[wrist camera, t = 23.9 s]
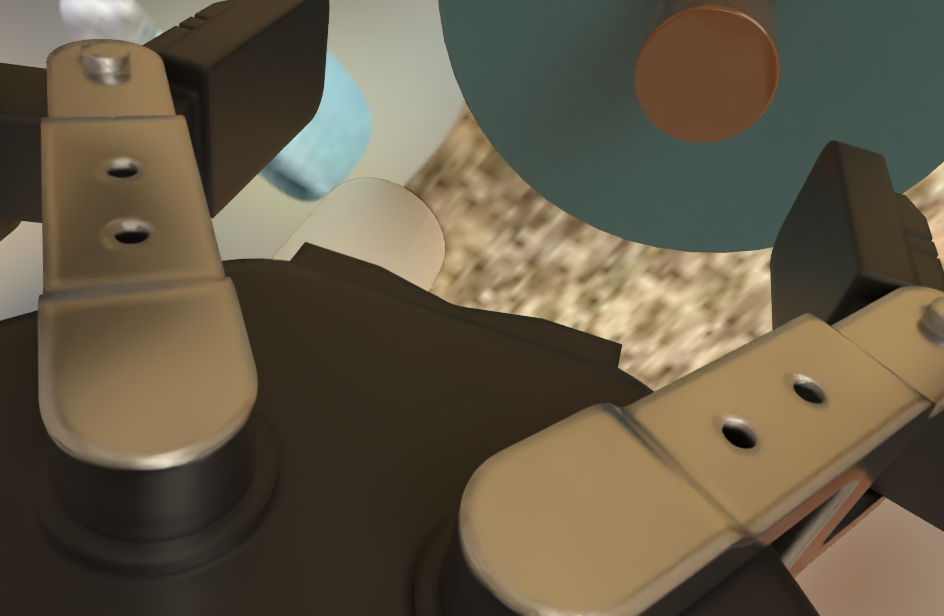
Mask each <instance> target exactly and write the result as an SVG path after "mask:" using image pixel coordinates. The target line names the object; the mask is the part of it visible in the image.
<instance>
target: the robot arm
mask: <svg viewBox="0 0 944 616" xmlns="http://www.w3.org/2000/svg"><path fill="white" fill-rule="evenodd" d="M328 23H329V0H227V1H222V2H217V3H213V4H212V5H210V6H208V7H206V8H205V9H203V10H201V11H200V12H198V13H196V14H195V17H190V18H188V19H186V20H184V21H183V22H181V23H180V24H179V27H178V26H174V27H173V28H171V29H169V30H168V31H166V32H164V33H163V34H161V35H159V36H157V37H156V38H154V39H152V40H151V41H149V42H147V43H146V44H144V45H142V46H141V45H138V44H135V43H131V42H126V41H121V40H112V39H90V40H81V41H76V42H72V43H68V44H65V45H63V46H60V47H58V48H56V49H55V50H53V51H52V52H51V53H50V54H49V56H48V57H47V62H46V63H47V69H44V68H36V67H28V66H21V65H13V64H6V63H0V241H1V240H2V239H4V238H5V237H6V236H7V235H8V234H10V233H11V232H12V231H13V230H15V228H17V227H18V225H19V224H20V222H21V221H29V222H38V223H42V231H43V233H42V234H43V294H42V295H40V296H39V300H38V310H37V311H34V312H30V313H27V314H23V315H19V316H16V317H12V318H8V319H5V320H2V321H0V616H820V615H819V614H818V612H817V611H816V609H815V608H814V606H813V605H812V603H811V602H810V601H809V599H808V598H807V596H806V595H805V593H804V592H803V590H802V589H801V588H800V586H799V585H798V583H797V582H796V580H795V579H794V578H795V577H796V576H797V575H798V574H799V573H800V572H801V571H802V570H804V568H806V567H807V566H808V565H809V564H810V563H812V562H813V561H814V560H815V559H816V558H818V557H819V556H820V555H821V554H822V553H823V552H825V551H826V550H827V549H828V548H829V547H831V546H832V545H833V544H834V543H835V542H836V541H838V540H839V539H840V538H841V537H842V536H844V535H845V534H846V533H847V532H848V531H850V530H851V529H852V528H853V527H854V526H856V525H857V524H858V523H859V522H860V521H861V520H863V519H864V518H865V517H866V516H867V515H868V514H870V513H871V512H872V511H873V510H875V508H877V507H878V506H879V505H880V504H881V503H882V502H883V501H884V500H885V498H887V499H889V500H891V501H893V502H894V503H896V504H898V505H899V506H901V507H903V508H904V509H906V510H908V511H910V512H911V513H913V514H915V515H916V516H918V517H920V518H922V519H923V520H925V521H927V522H928V523H930V524H932V525H933V526H935V527H937V528H939V529H940V530H942V531H944V271H943V268H942V265H941V262H940V259H937V256H938V253H937V250H936V247H935V244H934V242H931V240H932V235H931V232H930V229H929V226H928V223H927V220H926V217H925V216H924V215H923V214H922V213H921V212H920V211H919V210H918V209H917V208H916V206H915V205H914V204H913V203H912V202H911V201H910V200H909V199H908V198H907V197H906V196H905V195H902V194H898V193H895V192H894V190H893V186H892V183H891V179H890V176H889V172H888V169H887V165H886V162H885V158H884V156H883V155H882V154H879V153H876V152H872V151H869V150H866V149H862V148H859V147H855V146H852V145H849V144H845V143H842V142H838V141H835V140H832V141H830V142H829V143H828V144H827V145H826V146H825V147H824V149H823V150H822V152H821V153H820V155H819V157H818V159H817V161H816V162H815V164H814V166H813V168H812V170H811V172H810V174H809V176H808V177H807V179H806V181H805V183H804V185H803V187H802V189H801V191H800V192H799V194H798V196H797V198H796V200H795V202H794V204H793V206H792V207H791V209H790V211H789V213H788V215H787V217H786V219H785V221H784V222H783V224H782V226H781V228H780V231H779V233H778V235H777V238H776V241H775V243H774V247H773V250H772V254H771V261H770V272H771V299H772V325H773V330H772V331H770V332H768V333H766V334H764V335H762V336H761V337H759V338H757V339H755V340H753V341H751V342H749V343H747V344H745V345H743V346H741V347H739V348H738V349H736V350H734V351H732V352H730V353H728V354H726V355H724V356H722V357H720V358H718V359H717V360H715V361H713V362H711V363H709V364H707V365H705V366H703V367H701V368H699V369H697V370H695V371H694V372H692V373H690V374H688V375H686V376H684V377H682V378H680V379H678V380H676V381H674V382H672V383H671V384H669V385H667V386H665V387H663V388H661V389H659V390H657V391H655V392H654V391H653V390H651V389H650V388H649V387H647V386H646V385H645V384H643V383H642V382H640V381H639V380H637V379H636V378H634V377H633V376H631V375H629V374H628V373H626V372H624V371H622V370H621V369H619V368H618V364H619V359H620V353H621V348H622V344H619V343H616V342H613V341H610V340H607V339H604V338H600V337H597V336H594V335H591V334H588V333H585V332H582V331H579V330H576V329H573V328H570V327H567V326H563V325H560V324H557V323H554V322H551V321H548V320H545V319H542V318H535V317H528V316H521V315H514V314H508V313H501V312H494V311H487V310H481V309H474V308H467V307H461V306H457V305H454V304H451V303H449V302H447V301H445V300H443V299H441V298H439V297H437V296H435V295H434V294H432V293H430V292H428V291H426V290H424V289H422V288H421V287H419V286H417V285H415V284H413V283H411V282H409V281H407V280H406V279H404V278H402V277H400V276H398V275H396V274H394V273H393V272H391V271H389V270H387V269H385V268H383V267H381V266H379V265H375V264H372V263H369V262H366V261H363V260H360V259H357V258H354V257H351V256H348V255H345V254H342V253H338V252H335V251H332V250H329V249H326V248H323V247H320V246H317V245H314V244H311V243H308V242H304V244H303V245H302V246H301V247H300V249H299V250H298V251H297V252H296V254H295V255H294V256H293V257H292V259H291V260H290V261H287V260H277V259H237V260H227V261H221V257H220V253H219V249H218V245H217V241H216V237H215V233H214V229H213V225H212V221H211V218H214V217H215V216H216V214H218V213H219V212H220V211H221V210H222V209H223V208H224V207H225V206H226V205H227V204H228V203H229V202H230V201H231V200H232V199H233V198H234V197H235V196H236V195H237V194H238V193H239V192H240V191H241V190H242V189H243V188H244V187H245V186H246V185H247V184H248V183H249V182H250V181H251V180H252V179H253V178H254V177H255V176H256V175H257V174H258V173H259V172H260V171H261V170H262V169H263V168H264V167H265V166H266V165H267V164H268V163H269V162H270V161H271V160H272V159H273V158H274V157H275V156H276V155H277V154H278V153H279V152H280V151H281V150H282V149H283V148H284V147H285V146H286V145H287V144H288V143H289V142H290V141H291V140H292V139H293V138H294V137H295V136H296V135H297V134H298V133H299V132H300V131H301V130H302V129H303V128H304V127H305V126H306V125H307V124H308V123H309V122H310V121H311V120H312V119H313V118H314V116H315V114H316V112H317V110H318V108H319V105H320V102H321V99H322V95H323V90H324V80H325V66H326V52H327V38H328Z"/></svg>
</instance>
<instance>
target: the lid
mask: <svg viewBox="0 0 944 616" xmlns="http://www.w3.org/2000/svg"><path fill="white" fill-rule="evenodd" d="M439 11H440V16H441V23H442V29H443V35H444V41H445V44H446V48H447V51H448V55H449V59H450V62H451V66H452V69H453V72H454V75H455V78H456V80H457V82H458V85H459V87H460V89H461V91H462V94H463V97H464V99H465V101H466V104H467V106H468V107H469V109H470V111H471V113H472V114H473V116H474V118H475V120H476V121H477V123H478V125H479V127H480V128H481V130H482V132H483V133H484V134H485V136H486V137H487V139H488V140H489V141H490V143H491V144H492V145H493V147H494V148H495V149H496V151H497V152H498V153H499V155H500V156H501V157H502V158H503V159H504V160H505V162H506V163H507V164H508V165H509V166H510V167H511V168H512V169H513V170H514V171H515V172H516V173H517V174H518V175H519V176H520V177H521V178H522V179H523V180H524V181H525V182H526V183H527V184H528V185H530V186H531V187H532V188H533V189H534V190H536V191H537V192H538V193H539V194H540V195H542V196H543V197H544V198H545V199H547V200H548V201H550V202H551V203H553V204H554V205H556V206H557V207H559V208H560V209H562V210H563V211H565V212H566V213H568V214H569V215H571V216H573V217H575V218H577V219H579V220H581V221H583V222H585V223H587V224H589V225H591V226H593V227H595V228H597V229H599V230H601V231H604V232H607V233H610V234H612V235H615V236H618V237H620V238H623V239H626V240H629V241H633V242H637V243H641V244H645V245H649V246H653V247H657V248H664V249H671V250H679V251H686V252H710V253H727V252H739V251H751V250H760V249H765V248H770V247H774V243H775V241H776V238H777V235H778V233H779V231H780V228H781V226H782V224H783V222H784V221H785V219H786V217H787V215H788V213H789V211H790V209H791V207H792V206H793V204H794V202H795V200H796V198H797V196H798V194H799V192H800V191H801V189H802V187H803V185H804V183H805V181H806V179H807V177H808V176H809V174H810V172H811V170H812V168H813V166H814V164H815V162H816V161H817V159H818V157H819V155H820V153H821V152H822V150H823V149H824V147H825V146H826V145H827V144H828V143H829V142H830V141H832V140H835V141H838V142H842V143H845V144H849V145H852V146H855V147H859V148H862V149H866V150H869V151H872V152H876V153H879V154H882V155H883V156H884V158H885V162H886V165H887V169H888V172H889V176H890V179H891V183H892V186H893V190H894V192H895V193H898V194H903V193H904V192H906V191H907V190H908V189H910V188H911V187H913V186H914V185H916V184H917V183H919V182H920V181H921V180H923V179H924V178H926V177H927V176H928V175H929V174H930V173H931V172H932V171H934V170H935V169H936V168H937V167H938V166H939V165H940V164H942V163H943V162H944V0H439Z"/></svg>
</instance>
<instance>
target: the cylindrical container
mask: <svg viewBox="0 0 944 616" xmlns="http://www.w3.org/2000/svg"><path fill="white" fill-rule="evenodd" d="M304 242H308V243H311V244H314V245H317V246H320V247H323V248H326V249H329V250H332V251H335V252H338V253H342V254H345V255H348V256H351V257H354V258H357V259H360V260H363V261H366V262H369V263H372V264H375V265H379V266H381V267H383V268H385V269H387V270H389V271H391V272H393V273H394V274H396V275H398V276H400V277H402V278H404V279H406V280H407V281H409V282H411V283H413V284H415V285H417V286H419V287H421V288H422V289H424V290H426V291H429V289H430V287H431V286H432V284H433V282H434V280H435V278H436V277H437V275H438V273H439V271H440V269H441V267H442V264H443V261H444V257H445V242H444V237H443V232H442V230H441V228H440V225H439V223H438V221H437V219H436V218H435V216H434V215H433V213H432V211H431V210H430V209H429V208H428V207H427V206H426V204H425V203H424V202H423V201H422V200H421V199H419V198H418V197H417V196H416V195H414V194H413V193H412V192H410V191H409V190H407V189H405V188H403V187H402V186H400V185H397V184H395V183H392V182H390V181H387V180H383V179H377V178H357V179H352V180H348V181H346V182H344V183H342V184H339V185H338V186H337V187H335V188H334V189H333V190H332V191H330V193H329V194H328V195H327V196H326V197H325V198H324V199H323V201H322V202H321V203H320V204H319V205H318V206H317V208H316V209H315V210H314V211H313V212H312V213H311V214H310V216H309V217H308V218H307V219H306V220H305V221H304V223H303V224H302V225H301V226H300V227H299V228H298V230H297V231H296V232H295V233H294V234H293V235H292V236H291V238H290V239H289V240H288V241H287V242H286V243H285V244H284V246H283V247H282V248H281V249H280V250H279V251H278V253H277V254H276V255H275V256H274V257H273V258H272V259H277V260H287V261H290V260H291V259H292V257H293V256H294V255H295V254H296V252H297V251H298V250H299V249H300V247H301V246H302V245H303V244H304Z"/></svg>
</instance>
